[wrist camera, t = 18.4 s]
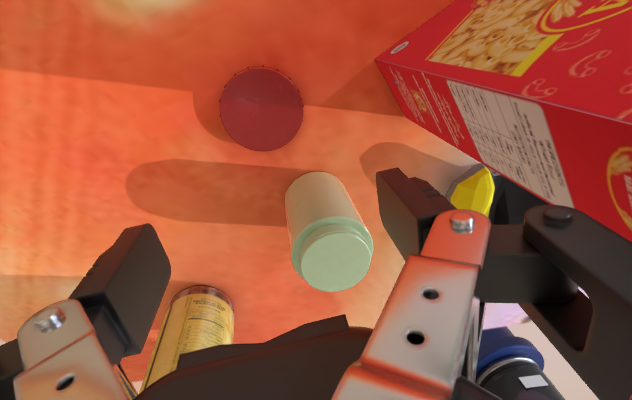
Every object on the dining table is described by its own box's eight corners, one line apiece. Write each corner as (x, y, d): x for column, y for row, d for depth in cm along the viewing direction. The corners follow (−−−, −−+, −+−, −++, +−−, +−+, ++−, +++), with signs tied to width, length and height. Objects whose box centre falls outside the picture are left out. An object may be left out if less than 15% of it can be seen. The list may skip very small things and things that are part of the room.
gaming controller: (434, 152, 30) (430, 248, 34) (468, 176, 25) (458, 284, 29) (595, 127, 31) (570, 222, 35) (658, 145, 26) (620, 253, 30)
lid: (246, 47, 24) (245, 48, 23) (317, 97, 26) (320, 100, 25) (206, 119, 26) (203, 123, 24) (275, 160, 28) (275, 166, 27)
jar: (357, 210, 31) (391, 273, 23) (303, 238, 32) (317, 310, 23) (330, 159, 29) (357, 210, 20) (272, 191, 29) (275, 253, 21)
